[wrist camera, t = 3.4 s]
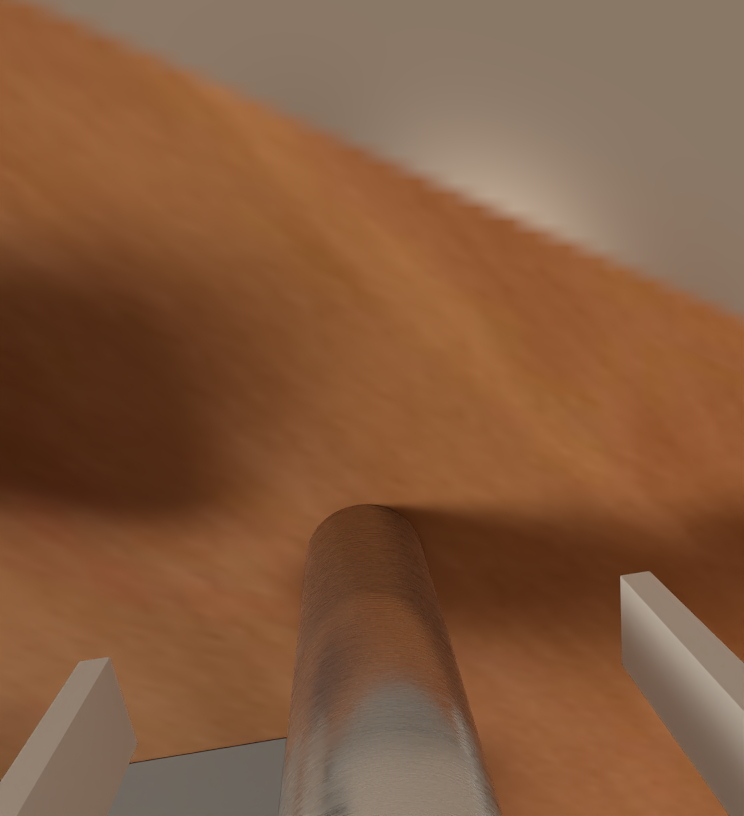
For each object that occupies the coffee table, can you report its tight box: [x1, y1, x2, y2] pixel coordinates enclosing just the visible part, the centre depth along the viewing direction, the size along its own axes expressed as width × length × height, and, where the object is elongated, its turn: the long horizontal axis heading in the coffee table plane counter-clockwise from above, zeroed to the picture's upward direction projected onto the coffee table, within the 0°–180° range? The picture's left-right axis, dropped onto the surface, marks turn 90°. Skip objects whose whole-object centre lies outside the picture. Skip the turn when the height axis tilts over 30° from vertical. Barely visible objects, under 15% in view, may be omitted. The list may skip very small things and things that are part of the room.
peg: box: [278, 505, 503, 816], centre depth 12 cm, size 4×4×14 cm
